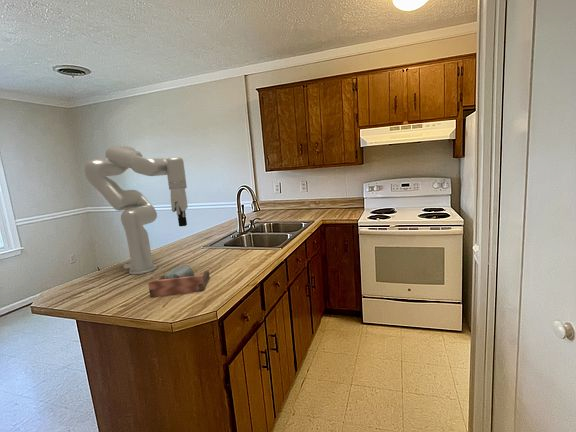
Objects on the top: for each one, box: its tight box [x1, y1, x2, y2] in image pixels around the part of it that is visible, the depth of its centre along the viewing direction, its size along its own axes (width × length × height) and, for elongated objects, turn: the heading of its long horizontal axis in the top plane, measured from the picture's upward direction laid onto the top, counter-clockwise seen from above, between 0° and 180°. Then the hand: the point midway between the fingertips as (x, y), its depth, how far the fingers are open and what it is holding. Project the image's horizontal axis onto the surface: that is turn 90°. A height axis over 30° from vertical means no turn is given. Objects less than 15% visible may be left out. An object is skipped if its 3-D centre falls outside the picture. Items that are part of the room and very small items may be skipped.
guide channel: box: [147, 270, 211, 298], centre depth 129 cm, size 20×15×6 cm
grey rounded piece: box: [164, 264, 195, 279], centre depth 129 cm, size 14×10×10 cm
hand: (183, 225), depth 143 cm, fingers closed
